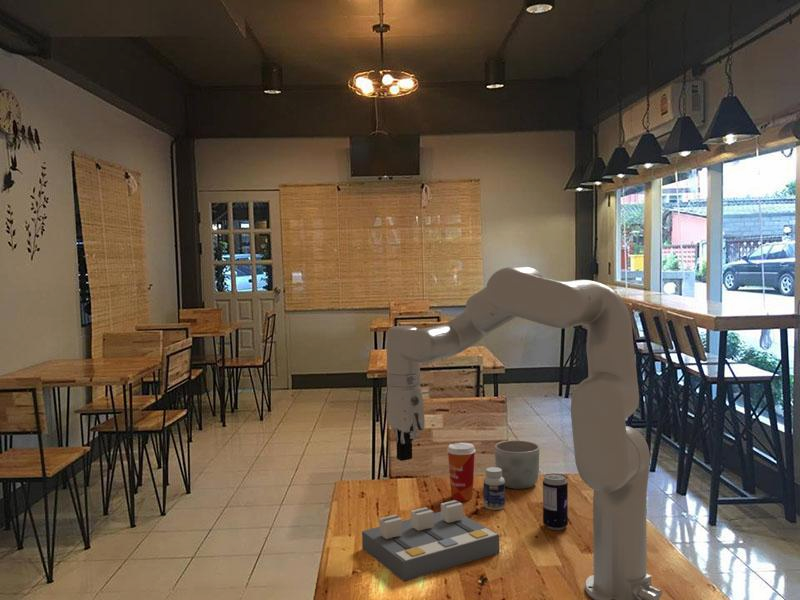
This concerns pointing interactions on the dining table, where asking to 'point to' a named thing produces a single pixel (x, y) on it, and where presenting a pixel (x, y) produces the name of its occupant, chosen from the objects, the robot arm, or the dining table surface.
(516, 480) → the planter
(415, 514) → the slider
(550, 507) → the beverage can
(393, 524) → the slider
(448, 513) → the slider
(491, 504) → the pill bottle
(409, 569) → the console
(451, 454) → the paper cup
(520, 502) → the dining table surface
